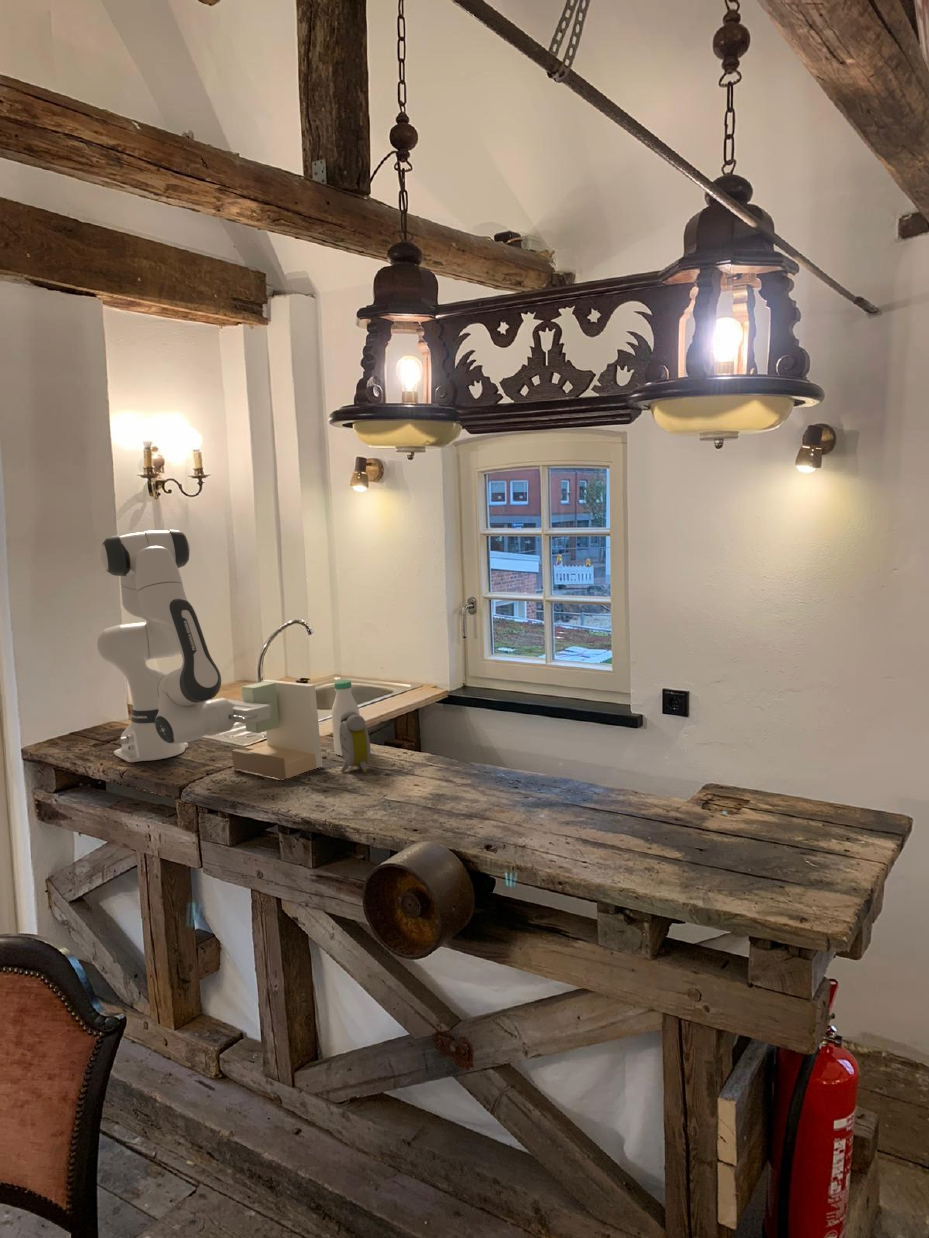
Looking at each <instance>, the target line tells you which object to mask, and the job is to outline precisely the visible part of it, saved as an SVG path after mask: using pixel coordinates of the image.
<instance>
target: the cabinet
mask: <svg viewBox="0 0 929 1238" xmlns="http://www.w3.org/2000/svg"><path fill="white" fill-rule="evenodd" d="M241 692H242V701H245V702H252V703H259V704H264V703H267V702H270V703H272V704H273V708H272V709H271V718H270V719H268V720H264V721H259V722H255V723H247V724H246V723H244V724H245V730H246V732H249V733H254V734H255V733H256V734H260V733H264V732H266V731H267V730H271V729H275V728H278V727H279V716H278V706H277V695H276V685H275V683H271V682H261V681H260V682H257V683H253V684H248V685H243V686H241Z"/></svg>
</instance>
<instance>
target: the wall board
mask: <svg viewBox="0 0 929 1238" xmlns="http://www.w3.org/2000/svg"><path fill="white" fill-rule="evenodd" d="M260 682H271V683H275V685H276V695H277V706H278V716H279V727H278V728H275V729H271V730H267V731H265V732H266V742H267V745H264V746H261V747H257V748H254V749H251V750H243V749H238V748H236V749H233V750H231V756H232V757H231V758H232V763H233V764H232V765H233V766H232V767H233V770H234V769H241V770H248V771H251V772H255V773H260V774H263V775H266V776H270V777H275V778H278V779H280V780H282V779H285V778H287V777H292V776H294V775H297V774H299V773H304V772H306V771H309V770H313V769H316V768H318V767H321V768H323V760H322V749H321V748H322V747H321V746H322V745H321V735H320V734H321V733H320V726H319V725H320V724H319V715H318V703H317V694H316V692H317V691H316V685H315V684H314V683H313V684H312V683H303V682H293V681H283V680H276V679H274V680H273V679H263V680H261V681H260ZM316 770H317V769H316ZM313 771H314V770H313ZM304 774H305V773H304Z"/></svg>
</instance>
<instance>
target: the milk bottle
mask: <svg viewBox="0 0 929 1238" xmlns="http://www.w3.org/2000/svg"><path fill="white" fill-rule="evenodd" d="M334 691H335V698H334V701H333V705H332V707H331V723H332V736H333V737H332V738H333V749H334V753H335V755H336V754H337V755H336V756H338V755H340V756H341V757H343V755H342V750H341V744H340V725H341V716H342V714H343V713H344V712H346V711H347V710H352V711H355V712H356V713H357V714H358V715H360V709H359V706H358V704H357V702H356V700H355V698H354V696H353V694H352V681H351V680H337V681H336V682H334ZM360 716H361V715H360ZM340 756H339V757H340Z"/></svg>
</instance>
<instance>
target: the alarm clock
mask: <svg viewBox="0 0 929 1238" xmlns="http://www.w3.org/2000/svg"><path fill="white" fill-rule="evenodd" d="M368 731H369V730H368V727H367V725H366V720H365V719H364V717H363V716H362V715H358V714H357V713H356V712H355V711H352V710H347V711H346V712H344V713H343V714H342V716H341V725H340V744H341V750H342V755H343V756H342V758H343V760H344V761H343V762H344V763H343V766H342V768H341V771H340V772H342V773H345V772H346V771H347V769H348V768H349V767H354V766H360V767H361V770H362V771H363V773H364V774H368V767H367V764H368V763H369V761H370V758H371V742H370V741H371V740H370V736H369V732H368Z"/></svg>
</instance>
